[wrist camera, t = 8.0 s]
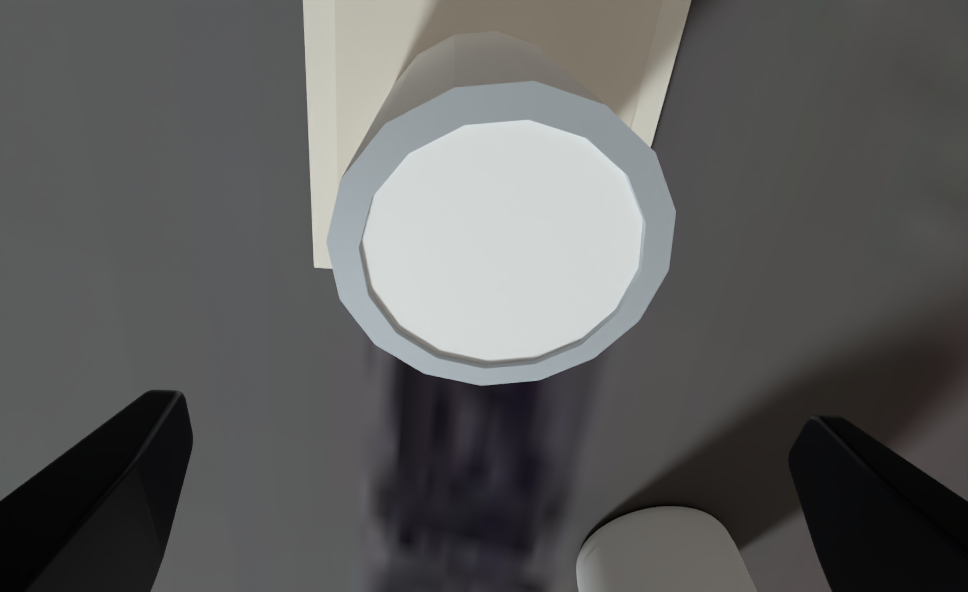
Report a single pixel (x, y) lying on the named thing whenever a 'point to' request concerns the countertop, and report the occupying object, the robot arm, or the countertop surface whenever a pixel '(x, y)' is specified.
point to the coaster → (459, 10)
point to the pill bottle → (662, 554)
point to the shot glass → (498, 217)
